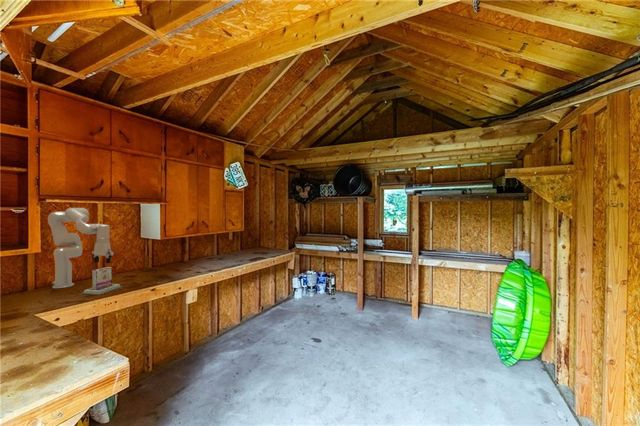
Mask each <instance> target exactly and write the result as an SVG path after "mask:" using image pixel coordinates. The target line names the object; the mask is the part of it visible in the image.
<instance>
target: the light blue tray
mask: <svg viewBox="0 0 640 426" xmlns="http://www.w3.org/2000/svg"><path fill="white" fill-rule="evenodd" d="M120 286H121V284H119V283H112V286H111V287H108V288H105V289H102V290H93V287H90V288H87V289H84V290H83V292H84V293H93V294H100V293H103V292H106V291H109V290H111V289H114V288H117V287H120Z"/></svg>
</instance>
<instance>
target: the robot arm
mask: <svg viewBox="0 0 640 426" xmlns="http://www.w3.org/2000/svg"><path fill="white" fill-rule="evenodd" d="M89 215H90V212H89V210H88V209H86V208H85V207H69V208H66V210H65V211H54V212H51V213H50V214H49V215H48V216H47V223H48V225H49V227H50V230H51V235H52V239H53V242H54V245H55V246H58V247H57V248H55V249H54V250H53V253H52V254H53V257H54V265H55V266H54V280H53V281H52V282H51V284H53V285H52V289H64V288H69V287H73V286H74V285H75V283H74V282H72V281H73V280H72V279H73V278H72V277H73V272H72V271H73V264H72V261H71V260H70V259H72V258H77V257H80V256H82V254H83V246H82V240H81V237H80V235H79V234H78V233H76V232H68V230H67V227H66V226H65V225H64V223H73V222H74V223H75V228H76V229H77V231H79V232H80V233H82V234H85V235H92V234H94V235H95V234H96V239H95V243H94V247H93V249H94V250H91V253H92V256H93V258H94V261H93V262H94V264H95V263H96V264H97V263H99V262H100V256H101V257H106V258H105V264H110V263H111V260H112V259H111V258H112V257H113V256H114V254H115V253H114V251H112V250H111V249H112V248H111V243H110V235H111V234H110V229H111V227H110V225H109V224H103V223H88V222H89V220H90V217H89ZM59 246H61V247H59Z"/></svg>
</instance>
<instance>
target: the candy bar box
mask: <svg viewBox="0 0 640 426" xmlns="http://www.w3.org/2000/svg"><path fill="white" fill-rule="evenodd" d="M112 268H113V267H110V266H107V267H101V268H96V269H92V271H91V272H92V273H91V275H92V286H91V287H92V288H93V290H102V289H105V288H108V287H111V286H112V284H113V273H112V272H113V271H112V270H113V269H112Z"/></svg>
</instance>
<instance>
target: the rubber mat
mask: <svg viewBox="0 0 640 426" xmlns="http://www.w3.org/2000/svg"><path fill="white" fill-rule="evenodd" d="M122 288H124V285H123V286H122V285H120V287H117V288H114V289H111V290H109V291H106V292H103V293H100V294H93V293H84V291H83V292H80V293H79V295H88V296H89V295H90V296H92V295H93V296H101V294H102V295H104V293H105V294H108V293H111V292H113V290H114V291H116V290H119V289H122ZM110 291H111V292H110ZM107 292H108V293H107Z"/></svg>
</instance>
